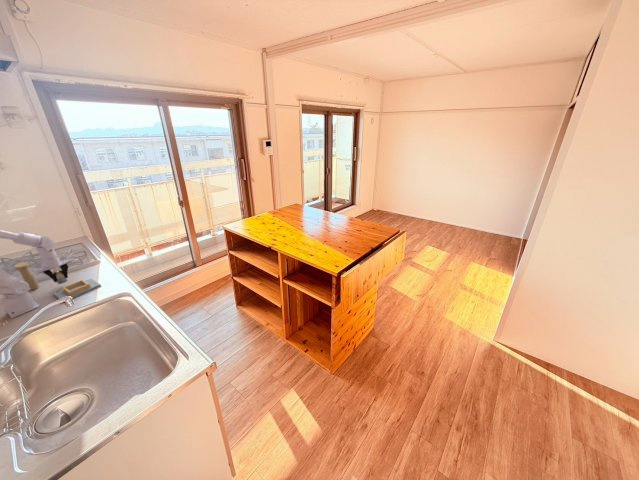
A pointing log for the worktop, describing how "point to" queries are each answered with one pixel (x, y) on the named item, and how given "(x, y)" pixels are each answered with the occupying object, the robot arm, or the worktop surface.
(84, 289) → the fitting base
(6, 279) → the robot arm
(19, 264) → the handle
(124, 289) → the worktop surface
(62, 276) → the valve stub
